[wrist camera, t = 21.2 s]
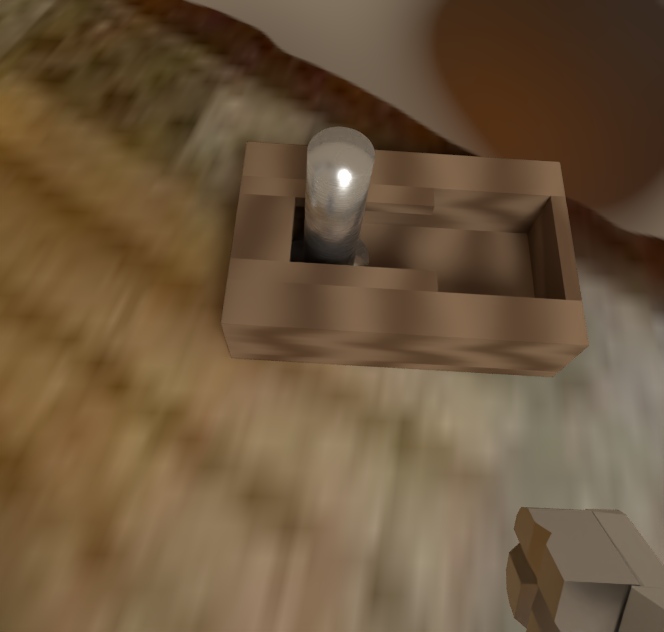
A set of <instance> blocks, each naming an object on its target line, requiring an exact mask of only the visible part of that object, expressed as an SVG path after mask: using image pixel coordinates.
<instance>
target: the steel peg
mask: <svg viewBox="0 0 664 632" xmlns="http://www.w3.org/2000/svg"><path fill="white" fill-rule="evenodd" d="M374 159H375V151H374V147H373V145H372V143H371V142H370V140H369V139H368V138H367V137H366V136H365V135H363V134H362V133H360V132H359V131H356V130H354V129H351V128H347V127H331V128H327V129H324V130H322V131H320V132H319V133H317V134H316V135H315V136H314V137H313V138H312V139H311V141H310V142H309V145H308V149H307V170H306V196H305V222H304V231H303V232H302V233H301V234H300V235H298V236H297V238H296V239H295V240H294V242H293V243H292V250H291V261H290V262H302V263H318V264H334V265H350V266H366V267H368V265H369V255H368V251H367V248H366V246H365V244H364V243H363V241H362V240H361V239H360V238H359V236H360V231H361V226H362V221H363V216H364V211H365V205H366V200H367V195H368V190H369V185H370V180H371V175H372V170H373V164H374Z"/></svg>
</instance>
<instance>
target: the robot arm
mask: <svg viewBox="0 0 664 632" xmlns="http://www.w3.org/2000/svg"><path fill="white" fill-rule="evenodd" d="M514 530H515V533H516V535H517V538H518V540H519V542H520V543H519V544H518V545H517V546H516V547H514V548H513V549H512V550H511V551H510V552H509V556H508V562H507V568H506V584H507V594H508V599H509V604H510V607H511V609H512V612H513V615H514V618H515V619H516V620H517V621H519V622H520V623H521V624H522V625H523V626H524V627H525V628H526V629H527V631H526V632H664V565H663V564H662V563H661V561H660V560H659V558H658V557H657V556H656V554H655V553H654V552H653V550H652V549H651V548H650V546H649V545H648V544H647V542H646V541H645V540H644V538H643V537H642V536H641V534H640V533H639V532H638V530H637V529H636V527H635V526H634V525H633V523H632V522H631V521H630V519H629V518H628V517H627V515H626V514H624V513H623V512H621V511H619V510H607V509H585V510H574V509H553V508H531V507H521V508H520V510H519V512H518V514H517V516H516V521H515V526H514Z"/></svg>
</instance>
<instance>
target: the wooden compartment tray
mask: <svg viewBox="0 0 664 632" xmlns="http://www.w3.org/2000/svg"><path fill="white" fill-rule="evenodd" d="M307 149H308V145H294V144H279V143H264V142H249V141H247V144H246V151H245V158H244V165H243V172H242V179H241V186H240V193H239V200H238V207H237V214H236V221H235V228H234V235H233V242H232V249H231V256H230V263H229V270H228V277H227V284H226V291H225V298H224V305H223V312H222V319H221V325H222V328H223V332H224V335H225V338H226V342H227V345H228V348H229V352H230V355H231V358H238V359H254V360H271V361H288V362H305V363H322V364H339V365H356V366H373V367H390V368H407V369H424V370H441V371H458V372H475V373H492V374H509V375H526V376H542V377H554V376H555V375H556V374H557V373H558V372H559V371H560V370H562V369H563V368H564V367H565V366H566V365H567V364H568V363H569V362H571V361H572V360H573V359H574V358H575V357H576V356H577V355H579V354H580V353H581V352H582V351H583V350H584V349H585V348H587V347H588V346H589V342H588V336H587V329H586V323H585V317H584V311H583V304H582V298H581V292H580V286H579V279H578V273H577V267H576V261H575V254H574V248H573V242H572V236H571V229H570V223H569V217H568V211H567V205H566V198H565V192H564V186H563V180H562V173H561V167H560V162H548V161H534V160H519V159H504V158H489V157H474V156H459V155H444V154H429V153H414V152H399V151H384V150H374V151H375V159H374V164H373V170H372V175H371V180H370V185H369V190H368V195H367V200H366V205H365V211H364V216H363V221H362V226H361V231H360V236H359V238H360V239H361V240H362V241H363V243H364V244H365V246H366V248H367V251H368V255H369V265H368V267H366V266H350V265H334V264H318V263H302V262H290V261H291V250H292V243H293V242H294V240H295V239H296V238H297V236H298V235H300V234H301V233H302V232H303V231H304V222H305V196H306V170H307Z"/></svg>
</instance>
